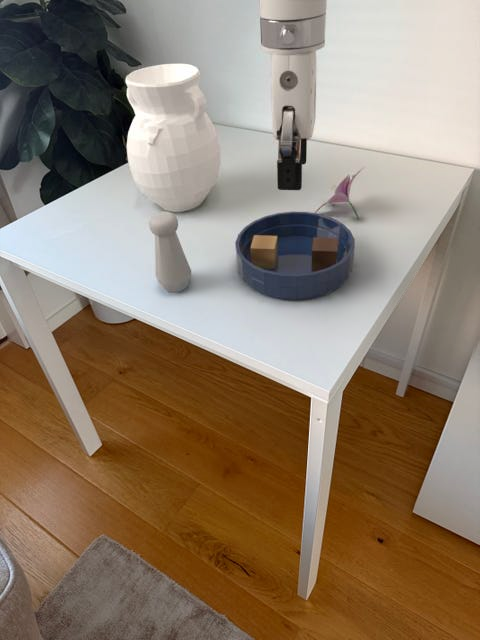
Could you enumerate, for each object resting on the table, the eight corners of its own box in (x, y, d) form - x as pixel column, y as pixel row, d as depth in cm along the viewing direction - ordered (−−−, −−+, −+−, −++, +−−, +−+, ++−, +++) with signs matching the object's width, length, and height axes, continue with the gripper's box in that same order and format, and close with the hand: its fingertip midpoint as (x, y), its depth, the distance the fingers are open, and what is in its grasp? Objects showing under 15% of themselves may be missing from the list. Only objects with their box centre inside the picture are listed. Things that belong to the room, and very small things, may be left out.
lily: (361, 201, 99) (341, 159, 95) (395, 203, 88) (375, 156, 84) (315, 234, 97) (293, 193, 94) (344, 240, 87) (321, 194, 83)
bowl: (352, 237, 87) (354, 213, 84) (351, 305, 73) (354, 279, 70) (248, 234, 90) (246, 210, 87) (228, 298, 76) (225, 272, 73)
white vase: (242, 190, 104) (232, 63, 87) (189, 231, 93) (167, 94, 76) (175, 174, 112) (155, 56, 96) (120, 210, 101) (86, 82, 84)
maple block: (277, 255, 83) (277, 235, 81) (275, 269, 80) (274, 249, 78) (255, 254, 84) (254, 234, 81) (251, 268, 81) (250, 248, 78)
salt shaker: (172, 271, 83) (159, 203, 74) (199, 280, 81) (189, 210, 72) (151, 290, 79) (134, 220, 71) (179, 299, 77) (165, 229, 68)
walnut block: (336, 258, 81) (338, 237, 79) (335, 272, 79) (337, 251, 76) (312, 257, 82) (313, 237, 80) (311, 270, 79) (311, 250, 77)
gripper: (321, 50, 49) (315, 206, 61) (328, 16, 62) (322, 151, 73) (248, 53, 50) (256, 205, 62) (270, 18, 63) (273, 150, 75)
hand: (292, 175), depth 68 cm, fingers open, 7 cm apart
